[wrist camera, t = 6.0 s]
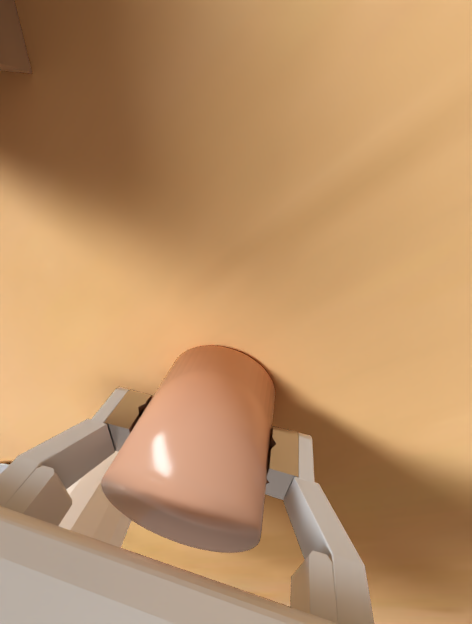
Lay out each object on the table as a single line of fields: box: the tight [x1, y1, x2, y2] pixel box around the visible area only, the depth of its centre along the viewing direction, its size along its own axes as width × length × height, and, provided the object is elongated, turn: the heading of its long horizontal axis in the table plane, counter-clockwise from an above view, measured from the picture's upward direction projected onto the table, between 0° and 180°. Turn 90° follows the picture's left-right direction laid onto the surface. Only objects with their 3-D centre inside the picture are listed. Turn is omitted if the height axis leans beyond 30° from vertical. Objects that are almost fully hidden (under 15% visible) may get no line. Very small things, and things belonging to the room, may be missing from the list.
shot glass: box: [59, 451, 131, 548], centre depth 16 cm, size 7×7×7 cm
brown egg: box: [101, 345, 275, 553], centre depth 10 cm, size 5×5×5 cm
